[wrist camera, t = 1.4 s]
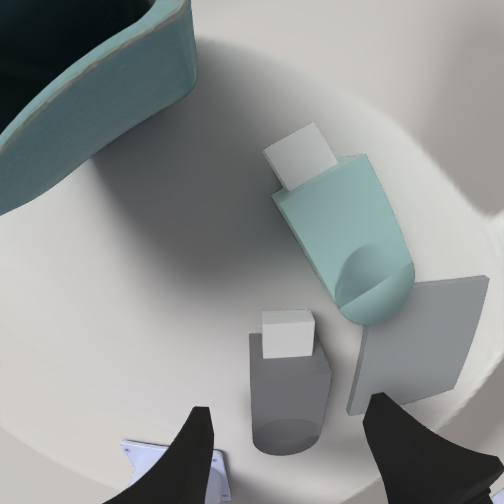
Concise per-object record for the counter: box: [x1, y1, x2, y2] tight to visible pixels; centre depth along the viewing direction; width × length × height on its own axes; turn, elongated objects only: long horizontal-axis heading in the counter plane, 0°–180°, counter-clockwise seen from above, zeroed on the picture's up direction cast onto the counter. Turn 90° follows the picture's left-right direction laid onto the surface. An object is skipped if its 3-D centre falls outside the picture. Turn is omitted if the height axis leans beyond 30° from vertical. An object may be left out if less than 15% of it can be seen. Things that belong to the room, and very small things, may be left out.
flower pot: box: [0, 0, 197, 216], centre depth 7 cm, size 9×9×9 cm
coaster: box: [347, 275, 490, 416], centre depth 15 cm, size 9×9×1 cm
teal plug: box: [262, 122, 415, 325], centre depth 11 cm, size 8×3×4 cm, turn 32°
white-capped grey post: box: [249, 309, 332, 456], centre depth 13 cm, size 8×3×4 cm, turn 1°
